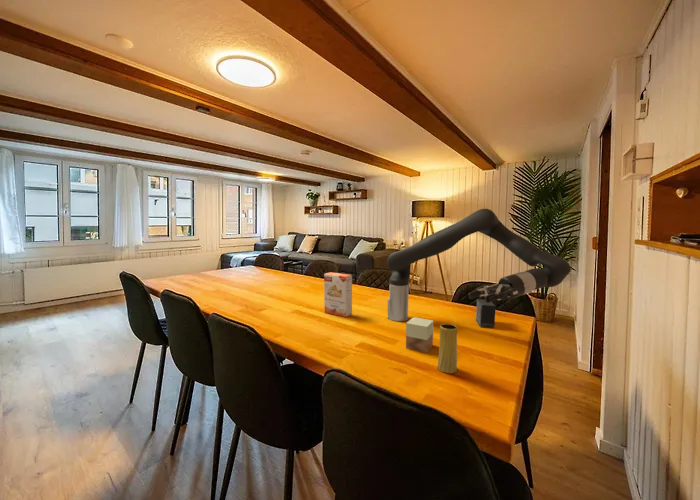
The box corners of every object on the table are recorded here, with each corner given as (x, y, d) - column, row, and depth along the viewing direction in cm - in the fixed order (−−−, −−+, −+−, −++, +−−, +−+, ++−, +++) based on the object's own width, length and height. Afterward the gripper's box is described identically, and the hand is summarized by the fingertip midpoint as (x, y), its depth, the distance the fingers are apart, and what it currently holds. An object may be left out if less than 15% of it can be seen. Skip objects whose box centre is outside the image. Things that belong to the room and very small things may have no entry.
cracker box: (323, 313, 160) (323, 273, 158) (331, 310, 165) (330, 271, 163) (345, 317, 152) (345, 276, 150) (352, 314, 157) (352, 274, 155)
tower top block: (406, 335, 115) (406, 323, 114) (413, 329, 122) (413, 317, 121) (427, 340, 111) (427, 326, 110) (433, 333, 118) (433, 320, 117)
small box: (495, 328, 136) (496, 305, 135) (480, 327, 138) (480, 304, 137) (489, 320, 147) (490, 299, 146) (475, 320, 148) (476, 298, 147)
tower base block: (406, 348, 115) (406, 335, 115) (412, 341, 122) (412, 329, 122) (427, 353, 111) (427, 340, 111) (432, 345, 118) (433, 333, 118)
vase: (434, 365, 102) (435, 323, 101) (452, 364, 102) (453, 322, 101) (441, 374, 96) (442, 330, 94) (460, 373, 96) (462, 329, 95)
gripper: (500, 272, 112) (461, 285, 108) (531, 275, 98) (488, 289, 94) (504, 292, 112) (466, 305, 108) (536, 297, 98) (494, 312, 95)
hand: (477, 298), depth 101 cm, fingers open, 8 cm apart
